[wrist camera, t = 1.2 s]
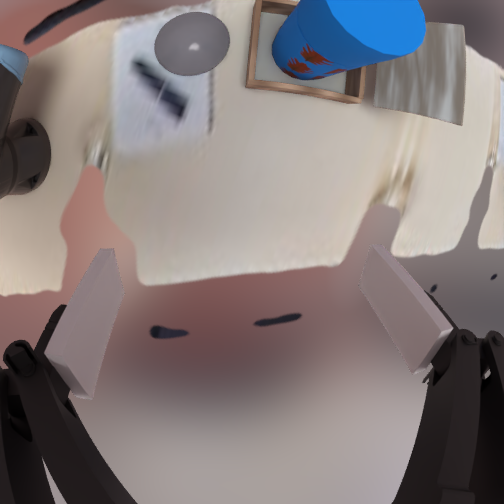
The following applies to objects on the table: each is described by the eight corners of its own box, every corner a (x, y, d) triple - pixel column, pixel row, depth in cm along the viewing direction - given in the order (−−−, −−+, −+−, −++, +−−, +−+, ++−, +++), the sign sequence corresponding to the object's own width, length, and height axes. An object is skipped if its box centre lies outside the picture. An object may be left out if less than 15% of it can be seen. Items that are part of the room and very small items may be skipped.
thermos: (299, 14, 32) (364, -53, 10) (345, 55, 36) (442, 26, 14) (256, 52, 35) (293, -10, 13) (306, 93, 39) (389, 80, 17)
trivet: (152, 77, 35) (151, 76, 35) (159, 15, 30) (159, 14, 29) (226, 76, 37) (226, 75, 36) (232, 13, 31) (233, 12, 30)
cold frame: (245, 87, 38) (261, 67, 21) (253, 6, 31) (273, -51, 13) (388, 114, 41) (463, 126, 24) (393, 42, 34) (465, 27, 17)
